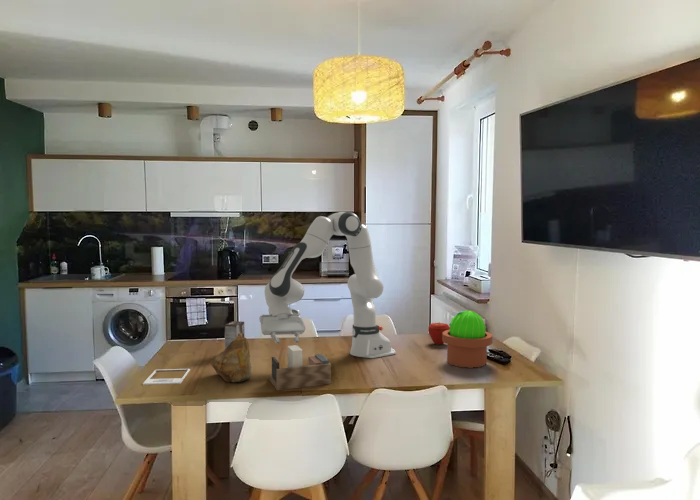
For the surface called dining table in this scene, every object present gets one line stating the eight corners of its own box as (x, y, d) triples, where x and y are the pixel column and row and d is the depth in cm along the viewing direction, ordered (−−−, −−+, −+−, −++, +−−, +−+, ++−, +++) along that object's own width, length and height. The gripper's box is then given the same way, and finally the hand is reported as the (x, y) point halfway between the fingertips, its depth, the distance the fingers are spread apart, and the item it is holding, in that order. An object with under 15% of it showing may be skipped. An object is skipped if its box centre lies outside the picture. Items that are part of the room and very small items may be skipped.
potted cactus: (499, 362, 231) (501, 309, 229) (476, 373, 215) (478, 315, 213) (457, 353, 246) (458, 303, 244) (433, 363, 229) (434, 309, 228)
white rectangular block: (297, 373, 207) (297, 345, 206) (302, 379, 199) (302, 349, 199) (287, 374, 205) (287, 346, 205) (292, 380, 198) (292, 350, 197)
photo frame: (142, 383, 199) (155, 369, 216) (142, 385, 199) (155, 371, 217) (180, 381, 200) (190, 368, 218) (180, 384, 200) (190, 370, 218)
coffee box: (232, 353, 245) (232, 320, 244) (245, 353, 244) (244, 321, 243) (224, 358, 236) (224, 324, 235) (237, 359, 235) (236, 325, 234)
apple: (449, 342, 268) (450, 320, 267) (449, 347, 257) (449, 324, 257) (428, 341, 270) (429, 318, 270) (427, 345, 260) (427, 323, 259)
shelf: (320, 373, 214) (320, 350, 213) (330, 383, 201) (330, 359, 200) (269, 379, 206) (269, 355, 205) (277, 390, 193) (276, 364, 192)
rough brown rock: (216, 369, 221) (212, 337, 219) (254, 365, 222) (251, 333, 221) (207, 389, 198) (202, 353, 196) (249, 384, 199) (245, 348, 198)
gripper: (261, 310, 214) (268, 339, 206) (302, 311, 226) (310, 338, 218) (255, 318, 218) (262, 346, 210) (296, 318, 229) (304, 345, 222)
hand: (287, 342), depth 214 cm, fingers open, 8 cm apart
